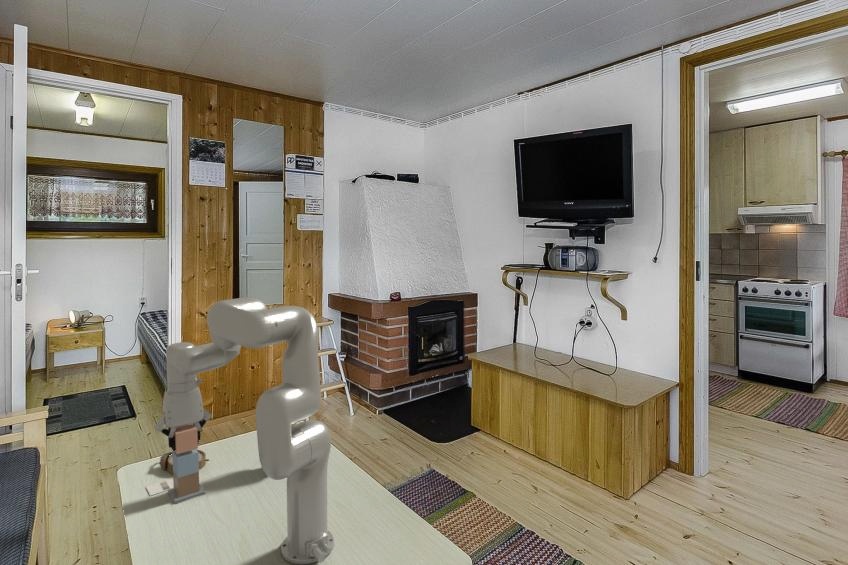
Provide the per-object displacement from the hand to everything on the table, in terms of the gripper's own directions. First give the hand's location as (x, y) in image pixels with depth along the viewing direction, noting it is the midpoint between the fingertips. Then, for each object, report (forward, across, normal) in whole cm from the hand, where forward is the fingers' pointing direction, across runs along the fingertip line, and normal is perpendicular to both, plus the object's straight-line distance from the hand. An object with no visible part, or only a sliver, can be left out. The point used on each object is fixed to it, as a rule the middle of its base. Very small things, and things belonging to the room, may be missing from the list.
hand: (184, 445), depth 136 cm
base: (+15, 0, 0) cm, 15 cm away
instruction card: (+15, +4, -8) cm, 17 cm away
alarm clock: (+15, -3, -18) cm, 24 cm away
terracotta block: (+1, 0, 0) cm, 1 cm away
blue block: (+8, 0, 0) cm, 8 cm away
